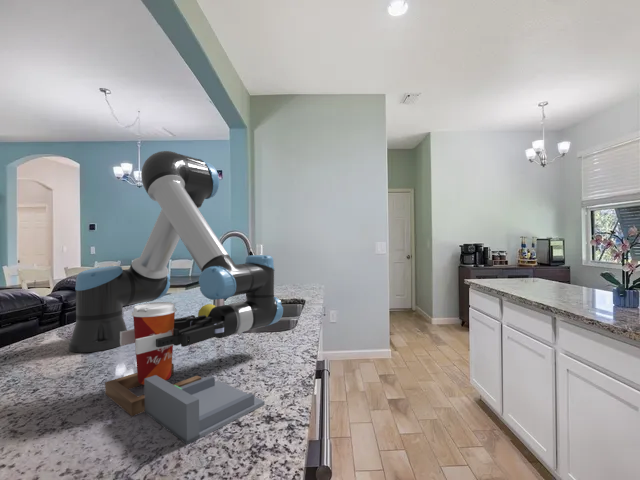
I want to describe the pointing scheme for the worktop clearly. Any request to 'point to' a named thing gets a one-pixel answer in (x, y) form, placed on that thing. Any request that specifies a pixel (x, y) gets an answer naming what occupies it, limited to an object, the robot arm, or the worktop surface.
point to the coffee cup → (150, 323)
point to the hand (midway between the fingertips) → (128, 342)
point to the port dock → (195, 406)
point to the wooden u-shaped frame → (129, 400)
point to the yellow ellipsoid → (206, 310)
